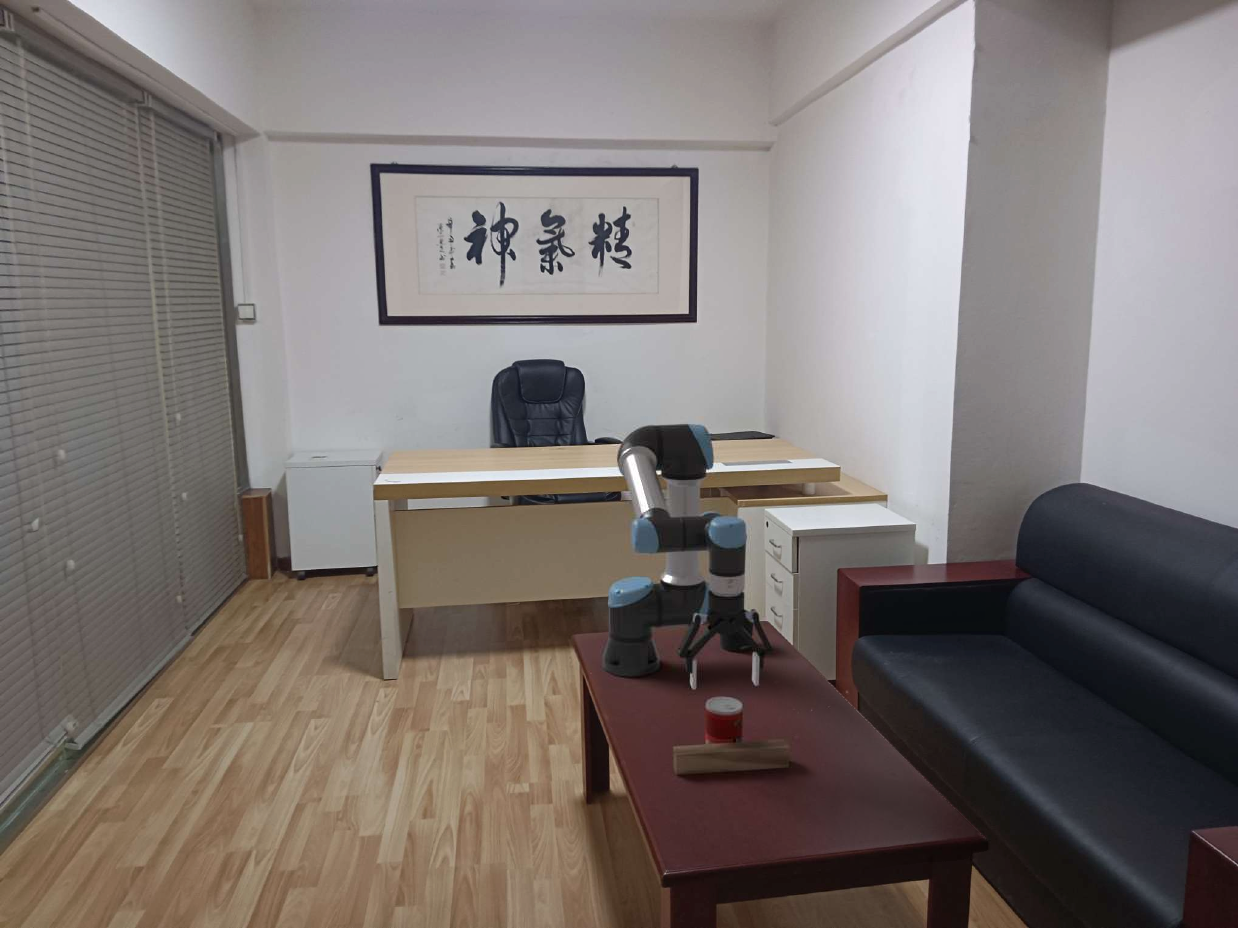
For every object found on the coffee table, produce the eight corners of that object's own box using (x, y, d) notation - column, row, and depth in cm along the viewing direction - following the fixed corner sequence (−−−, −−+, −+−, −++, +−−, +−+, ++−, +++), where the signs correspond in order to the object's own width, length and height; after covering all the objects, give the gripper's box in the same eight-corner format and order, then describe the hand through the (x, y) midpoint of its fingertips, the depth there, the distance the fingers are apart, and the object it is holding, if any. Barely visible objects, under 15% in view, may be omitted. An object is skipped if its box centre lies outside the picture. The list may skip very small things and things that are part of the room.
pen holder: (718, 651, 247) (718, 617, 245) (720, 639, 256) (720, 606, 254) (752, 654, 246) (753, 619, 244) (753, 641, 255) (754, 607, 253)
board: (673, 766, 188) (673, 746, 187) (783, 758, 191) (784, 739, 190) (676, 774, 185) (676, 754, 184) (788, 766, 187) (789, 747, 186)
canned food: (740, 761, 189) (741, 713, 187) (703, 758, 191) (703, 710, 189) (743, 744, 197) (744, 697, 195) (706, 740, 198) (707, 694, 196)
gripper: (670, 599, 182) (669, 696, 186) (789, 594, 185) (786, 689, 189) (664, 587, 189) (663, 680, 194) (779, 582, 192) (775, 673, 197)
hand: (724, 684), depth 191 cm, fingers open, 13 cm apart
